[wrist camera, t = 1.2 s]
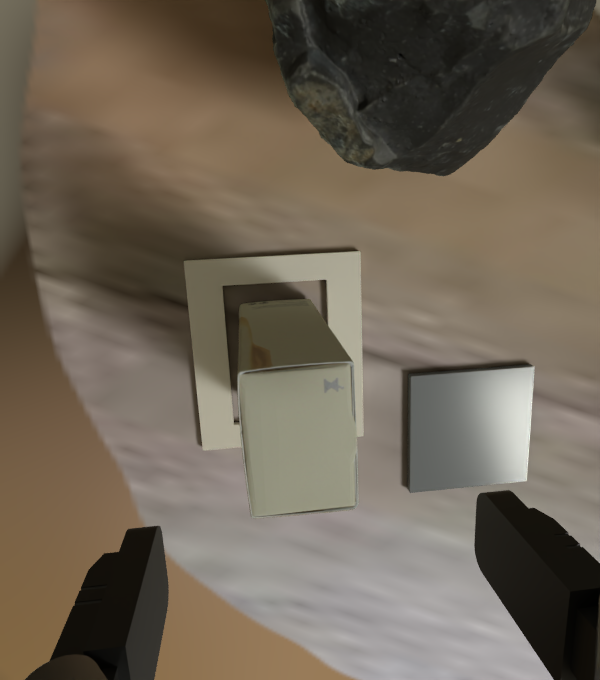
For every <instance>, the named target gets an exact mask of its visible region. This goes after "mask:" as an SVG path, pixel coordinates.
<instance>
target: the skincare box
mask: <svg viewBox="0 0 600 680" xmlns="http://www.w3.org/2000/svg"><path fill="white" fill-rule="evenodd" d="M237 392H238V413H239V424H240V436H241V445H242V454H243V463H244V471H245V479H246V486H247V494H248V500H249V507H250V514H251V517H252V518H254V519H257V518H267V517H282V516H294V515H306V514H316V513H328V512H337V511H347V510H354V509H355V508H356V507H357V505H358V503H359V501H358V460H357V427H356V401H355V379H354V362H353V361H352V359H351V358H350V356H349V355H348V354H347V352H346V351H345V349H344V348H343V346H342V345H341V343H340V342H339V340H338V339H337V338H336V336H335V335H334V333H333V332H332V330H331V329H330V328H329V326H328V325H327V323H326V322H325V320H324V319H323V317H322V316H321V315H320V313H319V312H318V310H317V309H316V307H315V306H314V304H313V303H312V301H311V300H310V299H295V300H275V301H262V302H253V303H244V304H241V305H240V307H239V351H238V373H237Z"/></svg>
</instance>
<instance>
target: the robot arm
mask: <svg viewBox="0 0 600 680" xmlns="http://www.w3.org/2000/svg"><path fill="white" fill-rule="evenodd" d="M475 554H476V559H477V562H478V565H479V568H480V570H481V572H482V573H483V575H484V576H485V578H486V579H487V581H488V582H489V584H490V585H491V587H492V588H493V590H494V591H495V593H496V594H497V596H498V597H499V599H500V600H501V602H502V603H503V605H504V606H505V607H506V609H507V610H508V612H509V613H510V615H511V616H512V618H513V619H514V621H515V622H516V624H517V625H518V627H519V628H520V630H521V631H522V633H523V634H524V636H525V637H526V639H527V640H528V642H529V643H530V645H531V646H532V648H533V649H534V651H535V652H536V654H537V655H538V657H539V658H540V660H541V661H542V662H543V664H544V665H545V667H546V668H547V670H548V671H549V673H550V674H551V676H552V677H553V679H554V680H600V563H599V562H598V561H597V560H596V559H595V558H594V557H592V556H591V555H590V554H589V553H588V552H587V551H586V550H585V549H584V548H583V547H580V544H579V543H578V542H577V541H576V540H575V539H574V538H573V537H572V536H569V535H568V532H567V531H566V530H565V529H564V528H563V527H562V526H561V525H560V524H559V523H558V522H557V521H556V520H554V519H553V518H551V517H549V516H548V515H546V514H544V513H542V512H540V511H539V510H537V509H535V508H529V509H528V508H527V507H526V505H525V504H524V503H523V502H522V501H521V500H520V499H519V498H518V497H517V496H516V495H515V494H514V493H513V492H511V491H509V490H506V491H496V492H487V493H480V494H479V495H478V498H477V506H476V526H475ZM167 607H168V577H167V569H166V561H165V553H164V545H163V537H162V531H161V528H160V526H152V527H142V528H133V529H128V530H127V531H126V534H125V537H124V540H123V542H122V545H121V548H120V551H119V552H114V553H105V554H104V555H102V557H101V558H100V559H99V560H98V561H97V562H96V563H95V564H94V565H93V566H92V567H91V568H90V569H89V571H88V573H87V575H86V577H85V580H84V582H83V584H82V587H81V591H79V594H78V596H77V598H76V601H75V606H73V608H72V610H71V612H70V615H69V617H68V619H67V622H66V624H65V626H64V629H63V631H62V634H61V636H60V638H59V640H58V643H57V645H56V647H55V650H54V652H53V655H52V657H51V659H50V661H49V662H47V663H45V664H43V665H42V666H40V667H39V668H37V669H36V670H35V671H33V672H32V673H31V674H30V675H29V676H28V677H27V678H26V679H25V680H154V677H155V672H156V667H157V661H158V656H159V651H160V645H161V640H162V635H163V629H164V624H165V618H166V613H167Z"/></svg>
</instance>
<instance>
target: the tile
mask: <svg viewBox="0 0 600 680" xmlns="http://www.w3.org/2000/svg"><path fill="white" fill-rule="evenodd" d="M534 370H535V367H534V366H532V365H531V364H529V365H516V366H504V367H491V368H478V369H465V370H453V371H440V372H427V373H414V374H408V490H409V492H410V493H413V492H423V491H433V490H443V489H453V488H463V487H473V486H483V485H493V484H503V483H513V482H523V481H527V468H528V454H529V440H530V426H531V412H532V398H533V384H534Z"/></svg>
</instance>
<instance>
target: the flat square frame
mask: <svg viewBox="0 0 600 680" xmlns="http://www.w3.org/2000/svg"><path fill="white" fill-rule="evenodd" d="M184 271H185V281H186V290H187V300H188V310H189V320H190V330H191V339H192V349H193V359H194V369H195V379H196V388H197V398H198V408H199V418H200V428H201V437H202V447H203V451H204V450H215V449H227V448H238V447H242V445H241V436H240V424H239V422H234V417H233V405H232V393H231V381H230V369H229V358H228V346H227V334H226V322H225V310H224V298H223V286H228V285H245V284H262V283H278V282H295V281H312V280H326V300H327V325H328V326H329V328H330V329H331V330H332V332H333V333H334V335H335V336H336V338H337V339H338V340H339V342H340V343H341V345H342V346H343V348H344V349H345V351H346V352H347V354H348V355H349V356H350V358H351V359H352V361H353V362H354V379H355V401H356V427H357V437H361V436H364V435H363V374H362V313H361V252H360V251H348V252H330V253H312V254H294V255H276V256H258V257H240V258H221V259H203V260H185V261H184Z"/></svg>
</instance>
